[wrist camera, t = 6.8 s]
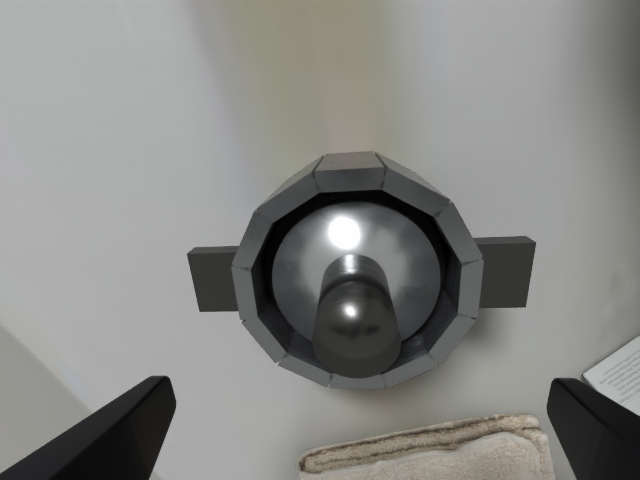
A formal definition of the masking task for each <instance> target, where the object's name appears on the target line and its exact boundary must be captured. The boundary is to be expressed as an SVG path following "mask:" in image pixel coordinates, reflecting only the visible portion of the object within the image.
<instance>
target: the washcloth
mask: <svg viewBox="0 0 640 480" xmlns="http://www.w3.org/2000/svg"><path fill="white" fill-rule="evenodd" d="M548 442H549V439H548V436H547V434H546V433H545V432H544V431H542V430H541V429H540V425H539V422H538V420H537V418H536V417H535V416H534V415H515V416H513V415H505V414H497V415H494V416H493V417H492V418H490V417H489V416H485V417H483V418H476V417H474V418H467V419H462V420H456V421H451V422H446V423H440V424H436V425H431V426H425V427H420V428H415V429H410V430H404V431H399V432H394V433H389V434H384V435H380V436H374V437H370V438H365V439H361V440H357V441H350V442H346V443H339V444H334V445H328V446H323V447H318V448H314V449H310V450H308V451H306V452H304V453H303V454H302V455H301V456H300V457H299V458H298V460H297V462H296V464H295V467H296V471H297V473H298V476H299V478H300V479H301V480H555V474H554V467H553V463H552V458H551V453H550V448H549V443H548Z"/></svg>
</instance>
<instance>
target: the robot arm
mask: <svg viewBox="0 0 640 480" xmlns="http://www.w3.org/2000/svg"><path fill="white" fill-rule="evenodd" d="M175 409H176V399H175V395H174V391H173V388H172V384H171V381H170V378H169V377H168V376H150V377H149V378H147V379H145V380H144V381H142V382H141V383H139V384H138V385H136V386H135V387H133V388H132V389H130V390H128V391H127V392H125V393H124V394H122V395H121V396H119V397H118V398H116V399H115V400H113V401H111V402H110V403H108V404H107V405H105V406H104V407H102V408H101V409H99V410H98V411H96V412H94V413H93V414H91V415H90V416H88V417H87V418H85V419H84V420H82V421H81V422H79V423H77V424H76V425H74V426H73V427H71V428H70V429H68V430H67V431H65V432H64V433H62V434H61V435H59V436H57V437H56V438H54V439H53V440H51V441H50V442H48V443H47V444H45V445H44V446H42V447H41V448H39V449H38V450H36V451H34V452H33V453H31V454H30V455H28V456H27V457H25V458H24V459H22V460H20V461H19V462H17V463H16V464H14V465H13V466H11V467H10V468H8V469H6V470H5V471H3V472H2V473H0V480H149V478H150V475H151V473H152V470H153V468H154V466H155V463H156V460H157V458H158V455H159V452H160V450H161V447H162V444H163V442H164V439H165V437H166V434H167V431H168V429H169V426H170V423H171V421H172V418H173V415H174V413H175ZM547 413H548V417H549V419H550V422H551V424H552V426H553V428H554V430H555V433H556V435H557V437H558V439H559V441H560V444H561V446H562V448H563V450H564V452H565V455H566V457H567V459H568V461H569V463H570V466H571V468H572V470H573V472H574V474H575V477H576V479H577V480H640V416H639V415H637V414H635V413H634V412H632V411H630V410H629V409H627V408H625V407H624V406H622V405H620V404H618V403H617V402H615V401H613V400H612V399H610V398H608V397H607V396H605V395H603V394H601V393H600V392H598V391H596V390H595V389H593V388H591V387H590V386H588V385H586V384H584V383H583V382H581V381H579V380H577V379H575V378H555V379H554V380H553V381H552V383H551V388H550V392H549V397H548V402H547Z"/></svg>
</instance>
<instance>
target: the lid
mask: <svg viewBox="0 0 640 480" xmlns="http://www.w3.org/2000/svg"><path fill="white" fill-rule="evenodd" d="M272 285H273V291H274V296H275V299H276V301H277V304H278V306H279V308H280V310H281V312H282V314H283V315H284V317H285V318H286V320H287V321H288V322H289V323H290V324H291V326H292V327H293V328H294V329H295V330H296V331H298V332H299V333H300V334H301V335H302V336H304V337H305V338H307V339H308V340H310V341H312V345H313V349H314V352H315V354H316V356H317V358H318V360H319V361H320V362H321V363H322V364H323V365H324V366H325V367H326V368H327V369H329V370H330V371H332V372H333V373H335V374H338V375H340V376H344V377H348V378H357V379H358V378H368V377H372V376H375V375H378V374H380V373H382V372H384V371H385V370H387V369H388V368H389V367H390V366H391V365H392V364H393V363H394V362H395V360H396V359H397V357H398V355H399V352H400V349H401V342H402V341H404V340H405V339H407V338H408V337H410V336H411V335H412V334H414V333H415V332H416V331H417V330H418V329H419V328H420V327H421V326H422V325H423V324H424V322H425V321H426V320H427V319H428V317H429V315H430V314H431V312H432V311H433V308H434V306H435V304H436V302H437V298H438V295H439V290H440V267H439V262H438V259H437V256H436V253H435V251H434V249H433V247H432V245H431V243H430V241H429V240H428V238H427V237H426V235H425V234H424V232H423V231H422V230H421V228H420V227H419V226H418V224H417V223H416V222H415V221H414V220H413V219H412V218H411V217H409V216H408V215H407V214H406V213H404V212H403V211H401V210H399V209H398V208H396V207H394V206H392V205H390V204H387V203H385V202H382V201H378V200H375V199H369V198H361V197H350V198H341V199H336V200H332V201H329V202H326V203H324V204H321V205H319V206H317V207H315V208H313V209H311V210H310V211H308V212H307V213H306V214H304V215H303V216H302V217H301V218H299V219H298V220H297V221H296V222H295V223H294V225H293V226H292V227H291V228H290V230H289V231H288V233H287V234H286V236H285V238H284V240H283V241H282V243H281V245H280V247H279V249H278V251H277V254H276V256H275V260H274V264H273V271H272Z"/></svg>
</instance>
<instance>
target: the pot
mask: <svg viewBox="0 0 640 480" xmlns="http://www.w3.org/2000/svg"><path fill="white" fill-rule="evenodd" d="M350 197H361V198H369V199H375V200H378V201H382V202H385V203H387V204H390V205H392V206H394V207H396V208H398V209H399V210H401V211H403V212H404V213H406V214H407V215H408V216H409V217H411V218H412V219H413V220H414V221H415V222H416V223H417V224H418V226H419V227H420V228H421V230H422V231H423V232H424V234H425V235H426V237H427V238H428V240H429V241H430V243H431V245H432V247H433V249H434V251H435V253H436V256H437V259H438V262H439V267H440V290H439V295H438V298H437V302H436V304H435V306H434V308H433V311H432V312H431V314H430V315H429V317H428V319H427V320H426V321H425V322H424V324H423V325H422V326H421V327H420V328H419V329H418V330H417V331H416V332H415V333H414V334H412V335H411V336H410V337H408V338H407V339H405V340H404V341H402V342H401V349H400V352H399V355H398V357H397V359H396V360H395V362H394V363H393V364H392V365H391V366H390V367H389V368H388V369H387V370H385V371H384V372H382V373H380V374H378V375H375V376H372V377H368V378H358V379H357V378H348V377H344V376H340V375H338V374H335V373H333V372H332V371H330V370H329V369H327V368H326V367H325V366H324V365H323V364H322V363H321V362H320V361H319V360H318V358H317V356H316V354H315V352H314V349H313V345H312V341H310V340H308V339H307V338H305V337H304V336H302V335H301V334H300V333H299V332H298V331H296V330H295V329H294V328H293V327H292V326H291V324H290V323H289V322H288V321H287V320H286V318H285V317H284V315H283V314H282V312H281V310H280V308H279V306H278V304H277V301H276V299H275V296H274V291H273V285H272V271H273V264H274V260H275V256H276V254H277V251H278V249H279V247H280V245H281V243H282V241H283V240H284V238H285V236H286V234H287V233H288V231H289V230H290V228H291V227H292V226H293V225H294V223H295V222H296V221H297V220H298V219H299V218H301V217H302V216H303V215H304V214H306V213H307V212H308V211H310V210H311V209H313V208H315V207H317V206H319V205H321V204H324V203H326V202H329V201H332V200H336V199H341V198H350ZM535 247H536V242H534V241H533V240H531V239H530V238H528V237H527V236H516V237H486V238H472V236H471V234H470V232H469V230H468V229H467V227H466V225H465V223H464V221H463V220H462V218H461V216H460V214H459V213H458V211H457V209H456V207H455V205H454V204H453V202H451V201H450V199H448V198H447V197H446V196H445V195H443V194H442V193H441V192H439V191H438V190H437V189H435V188H434V187H433V186H432V185H430V184H429V183H428V182H426V181H425V180H424V179H423V178H421V177H420V176H419V175H417V174H416V173H414V172H412V171H411V170H409V169H407V168H405V167H403V166H401V165H399V164H397V163H395V162H393V161H391V160H390V159H388V158H386V157H384V156H382V155H380V154H378V153H376V152H375V154H374V153H373V152H356V153H340V154H326V156H325V157H324V156H322V157H320V158H319V159H317V160H316V161H314V162H313V163H311V164H310V165H308V166H307V167H306V168H304V169H303V170H301V171H300V172H298V173H297V174H295V175H294V176H292V177H291V178H289V179H288V180H287V181H286V182H284V183H283V184H282V185H281V186H280V187H279V188H278V189H277V190H276V191H275V192H274V193H273V194H272V195H271V196H270V197H268V198H267V199H266V200H265V201H264V202H263V203H262V204H261V205H260V206H259V207H258V208H257V209H256V210H255V211H254V213H253V216H252V218H251V220H250V222H249V225H248V227H247V229H246V232H245V234H244V236H243V239H242V241H241V243H240V246H223V247H195V248H194V249H192V250H191V251H190V252H189V253H187V256H188V261H189V265H190V270H191V274H192V279H193V284H194V288H195V293H196V297H197V302H198V307H199V311H200V312H217V311H239V316H240V320H243V321H242V324H243V325H244V326H245V328H246V329H247V330H248V331H249V332H250V334H251V335H252V336H253V337H254V338H255V340H256V341H257V342H258V343H259V344H260V346H261V347H262V348H263V349H264V350H265V352H266V353H267V354H268V355H269V356H270V358H271V359H272V360H273V361H274V362H275V363H276V362H278V361H279V364H278V366H281V367H283V368H285V369H287V370H289V371H292V372H294V373H296V374H298V375H300V376H303V377H305V378H307V379H309V380H312V381H314V382H316V383H318V384H320V385H323V386H325V387H327V386H328V384H329V383H330V388H365V389H385V384H386V385H387V387H388V388H390V387H392V386H394V385H396V384H399V383H401V382H403V381H406V380H408V379H410V378H412V377H415V376H417V375H419V374H422V373H424V372H426V371H428V370H431V369H433V368H435V367H437V366H439V365H438V362H439V363H443V362H444V360H445V359H446V358H447V357H448V355H449V354H450V353H451V352H452V350H453V349H454V348H455V347H456V345H457V344H458V343H459V342H460V340H461V339H462V338H463V337H464V335H465V334H466V333H467V332H468V330H469V329H470V328H471V327H472V325H473V324H474V323H475V322H476V319H475V318H474V317H478V311H479V308H516V307H526V302H527V296H528V290H529V283H530V277H531V271H532V265H533V259H534V253H535Z"/></svg>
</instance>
